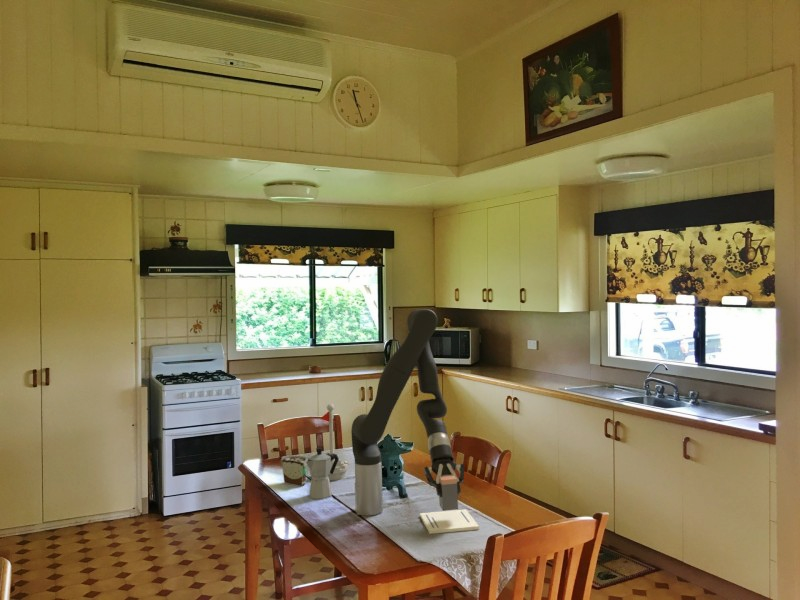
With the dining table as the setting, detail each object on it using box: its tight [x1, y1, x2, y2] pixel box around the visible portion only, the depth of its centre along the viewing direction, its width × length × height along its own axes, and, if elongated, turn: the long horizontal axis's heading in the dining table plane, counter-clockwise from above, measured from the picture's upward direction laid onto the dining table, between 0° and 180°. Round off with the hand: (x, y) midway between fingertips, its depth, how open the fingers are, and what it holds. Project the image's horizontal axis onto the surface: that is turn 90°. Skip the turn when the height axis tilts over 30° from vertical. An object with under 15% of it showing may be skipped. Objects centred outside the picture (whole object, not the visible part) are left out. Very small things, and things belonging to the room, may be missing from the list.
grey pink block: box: [438, 475, 459, 511], centre depth 218 cm, size 5×5×10 cm
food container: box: [280, 455, 308, 487], centre depth 267 cm, size 12×6×10 cm, turn 58°
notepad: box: [419, 508, 480, 535], centre depth 218 cm, size 16×16×1 cm
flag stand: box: [320, 403, 349, 481], centre depth 274 cm, size 13×13×30 cm
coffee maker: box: [305, 447, 340, 500], centre depth 250 cm, size 15×9×18 cm, turn 131°
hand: (449, 495), depth 216 cm, fingers closed on grey pink block, 5 cm apart
